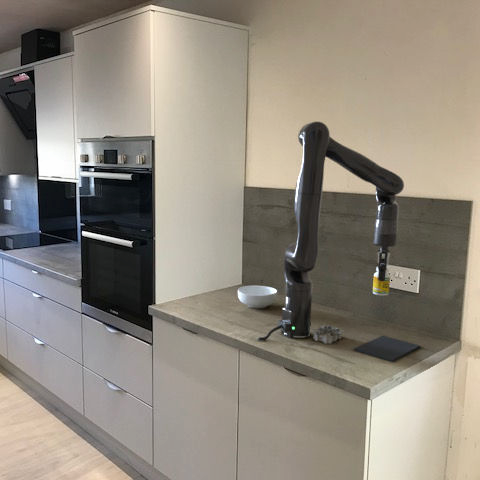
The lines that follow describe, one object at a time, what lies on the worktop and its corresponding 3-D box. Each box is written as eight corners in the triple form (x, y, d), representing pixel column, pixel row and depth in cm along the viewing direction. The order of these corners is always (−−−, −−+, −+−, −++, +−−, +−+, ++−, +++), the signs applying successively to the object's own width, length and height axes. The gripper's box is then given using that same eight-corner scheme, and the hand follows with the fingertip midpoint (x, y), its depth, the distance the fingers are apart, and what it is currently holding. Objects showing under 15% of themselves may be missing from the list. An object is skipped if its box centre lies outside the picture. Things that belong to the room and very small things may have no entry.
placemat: (392, 361, 166) (392, 360, 166) (354, 350, 175) (354, 348, 175) (420, 347, 179) (420, 345, 178) (383, 337, 188) (383, 335, 188)
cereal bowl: (248, 298, 238) (248, 283, 237) (282, 304, 228) (283, 288, 227) (230, 306, 224) (230, 290, 223) (266, 313, 215) (267, 297, 214)
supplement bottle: (378, 291, 191) (380, 265, 189) (391, 294, 186) (394, 268, 185) (369, 293, 188) (371, 266, 186) (382, 296, 183) (385, 269, 182)
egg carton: (328, 345, 180) (329, 333, 179) (309, 339, 185) (310, 328, 185) (344, 338, 187) (345, 327, 186) (325, 332, 192) (326, 322, 192)
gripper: (375, 228, 191) (371, 274, 194) (373, 233, 179) (369, 282, 181) (397, 230, 188) (393, 276, 191) (397, 235, 175) (392, 284, 178)
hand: (381, 278), depth 186 cm, fingers closed on supplement bottle, 5 cm apart
